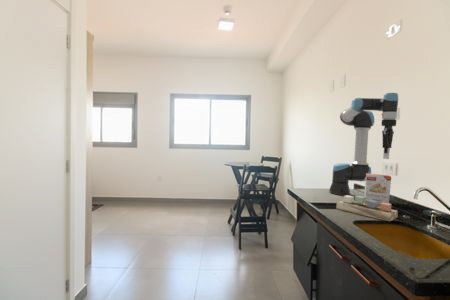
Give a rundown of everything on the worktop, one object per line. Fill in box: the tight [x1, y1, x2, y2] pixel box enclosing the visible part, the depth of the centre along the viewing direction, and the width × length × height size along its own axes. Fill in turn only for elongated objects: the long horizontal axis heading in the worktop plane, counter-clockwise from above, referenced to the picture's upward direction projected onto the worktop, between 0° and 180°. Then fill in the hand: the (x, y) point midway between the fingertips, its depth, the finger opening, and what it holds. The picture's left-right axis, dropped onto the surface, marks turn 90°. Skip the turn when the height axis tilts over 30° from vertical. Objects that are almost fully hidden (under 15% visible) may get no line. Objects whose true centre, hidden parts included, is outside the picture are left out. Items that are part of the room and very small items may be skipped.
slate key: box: [367, 200, 378, 209], centre depth 162 cm, size 4×4×6 cm
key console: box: [335, 200, 399, 222], centre depth 165 cm, size 12×30×4 cm, turn 42°
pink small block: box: [380, 202, 392, 212], centre depth 157 cm, size 4×4×6 cm
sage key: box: [354, 195, 366, 206], centre depth 167 cm, size 4×4×6 cm
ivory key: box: [343, 195, 355, 204], centre depth 172 cm, size 4×4×6 cm
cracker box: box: [363, 173, 392, 207], centre depth 180 cm, size 14×6×21 cm, turn 68°
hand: (386, 158), depth 167 cm, fingers closed
